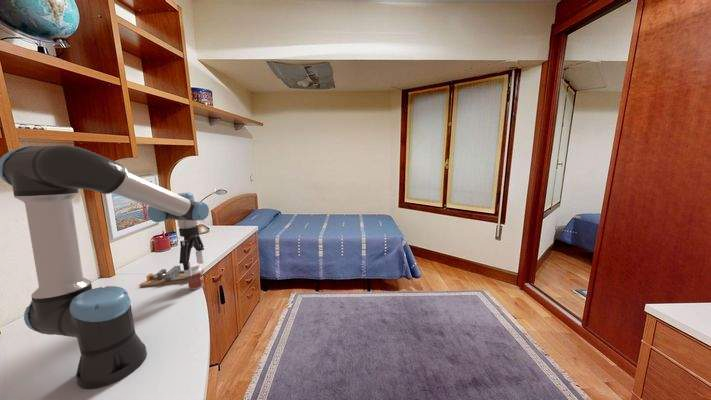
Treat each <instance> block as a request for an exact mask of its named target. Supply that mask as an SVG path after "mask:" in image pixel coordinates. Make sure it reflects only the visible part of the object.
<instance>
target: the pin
mask: <svg viewBox="0 0 711 400" xmlns="http://www.w3.org/2000/svg"><path fill="white" fill-rule="evenodd" d="M154 278H157V275H155V274H153V273H149V274H148V275H146V281H148V280H151V279H154ZM163 278H165V274H163Z"/></svg>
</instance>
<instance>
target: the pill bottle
mask: <svg viewBox="0 0 711 400" xmlns="http://www.w3.org/2000/svg"><path fill="white" fill-rule="evenodd" d="M190 264H191V271H192V276H187V277H188V283H187V284H188V289H189V290H198V289H201V288H203V287H204V285H205V283H204V275H203V274H204V272H202V269H203V268H201V267H200V264H199V263H197V262H195V263H190Z"/></svg>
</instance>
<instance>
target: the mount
mask: <svg viewBox="0 0 711 400" xmlns="http://www.w3.org/2000/svg"><path fill="white" fill-rule="evenodd" d="M201 269H202V273H204V271H205V270H204V268H201ZM163 274H165V278H163ZM154 275H157V278H154V279H151V280H148V281H147V280H145V281H144V282H143V283H141V284H140V285H139V288H149V287H151V288H152V287H159V286H168V285H179V284H181V285H182V284H188V277H187V276H186V277H185V274H184V269H183V270H182V268H181V264H180V265H179V264H178V265H175V266H173V267H172V268H170V269H169V270H168V271H167V269H166V268H163V269H161V270H159V271H158V272H156V273H155V274H154Z"/></svg>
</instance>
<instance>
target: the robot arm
mask: <svg viewBox="0 0 711 400" xmlns="http://www.w3.org/2000/svg"><path fill="white" fill-rule="evenodd" d="M0 178H1V180H3V182H5V183H7V184H8V185H10V186H12V192H13V197H14V198H15V199H17V200H19V201H21V202H23V204H24V206H25V212H26V218H27V225H28V231H29V237H30V241H31V249H32V254H33V259H34V260H33V261H34V267H35V273H36V277H37V285H38V288H36V290H35V291H33V292H32V293H31V295H30V297H31V300H30V303H29V305H28V306H27V307H26V308H25V310H24V315H23V320H24V323H25V325H26V326H27V328H29V329H30V330H32V331H34V332H37V333H40V334H42V335H43V334H44V335H52V336H53V335H55V336H63V337H70V338H71V337H72V338H75V339H77V343H78V347H79V351H80V357H79V361H78V366H77V370H76V373H75V380H76V384H77V386H78V387H79V388H81V389H83V390H84V389H85V390H91V389H97V388H100V387H101V388H102V387H105V386H108V385H111V384H113V383H116V382H117V381H120V380H121V379H123V378H125V377H127V376H128V375H130V374H131V373H133V372H134V371H136V369H138V368H139V367H140V366H141V365H142V364H143V363H144V362H145V360H146V359H147V356H148V352H147V346H146V345H145V343H144V342H143V341H142V340H141V338H140V337H139V336H138V335H137V333H136V329H135V321H134V317H133V311H132V310H133V309H132V305H131V303H132V301H131V299H130V296H129V293H128V291H127V289H125V288H123V287H121V286H117V285H115V286H114V285H110V286H109V285H108V286H104V287H103V286H100V287H94V288H93V286H92V280H91V279H88V278H86V277H84V275H83V268H82V261H81V254H80V247H79V241H78V234H77V227H76V218H75V214H74V205H73V199H74V198H76V196H78V195H79V189H80V190H87V191H94V192H96V193H97V192H98V193H100V194H103V195H109V194H114V195H116V196H119V197H122V198H125V199H128V200H131V201H134V202H137V203H140V204H143V205H146V206H148V208H147V210H146V211H147V212H146V213H147V216H148V218H149V219H150V220H151V221H152V222H154V223H160V222H162V223H163V222H165V221H177V227H178V232H179V236H180V237H183V240H180V242H179V243H180V251H179V264H180V265H181V264H182V267H183V268H182V269H183V270H184V274H185V277H186V276H192V271H191V264H192V263H191V261H190V258H191V257H190V256H191V254H192V253H191V252H192V249H193V248H194V249H195V257H196V263H199V265H200V264H201V265H202V264H204V263H205V262H204V255H203V251H204V250H205V248H204V244H203V241H202V239H201V237H200V230H199V225H198V221H204V220H206V219H207V218H208V216H209V214H210V208H209V205H208V204H207V203H206V202H204V201H195V197H194V194H193V193H191V192H180V193H179V192H178V193H176V192H174V191H171V190H169V189H167V188H165V187H163V186H160V185H158V184H156V183H154V182H152V181H149V180H147V179H146V178H143V177H141V176H138V175H137V174H134V173H132V172H130V171H128V170H127V168H126V167H125V165H122V164H120V163H119V162H116V161H115V160H112V159H110V158H108V157H106V156H103V155H101V154H98V153H96V152H93V151H91V150H89V149H86V148H82V147H79V146H75V145H70V144H69V145H68V144H57V145H56V144H55V145H27V146H23V147H17V148H14V149H11V150H10V151H8V152H6V153H4V154H3V155H2V156H1V157H0Z"/></svg>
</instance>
